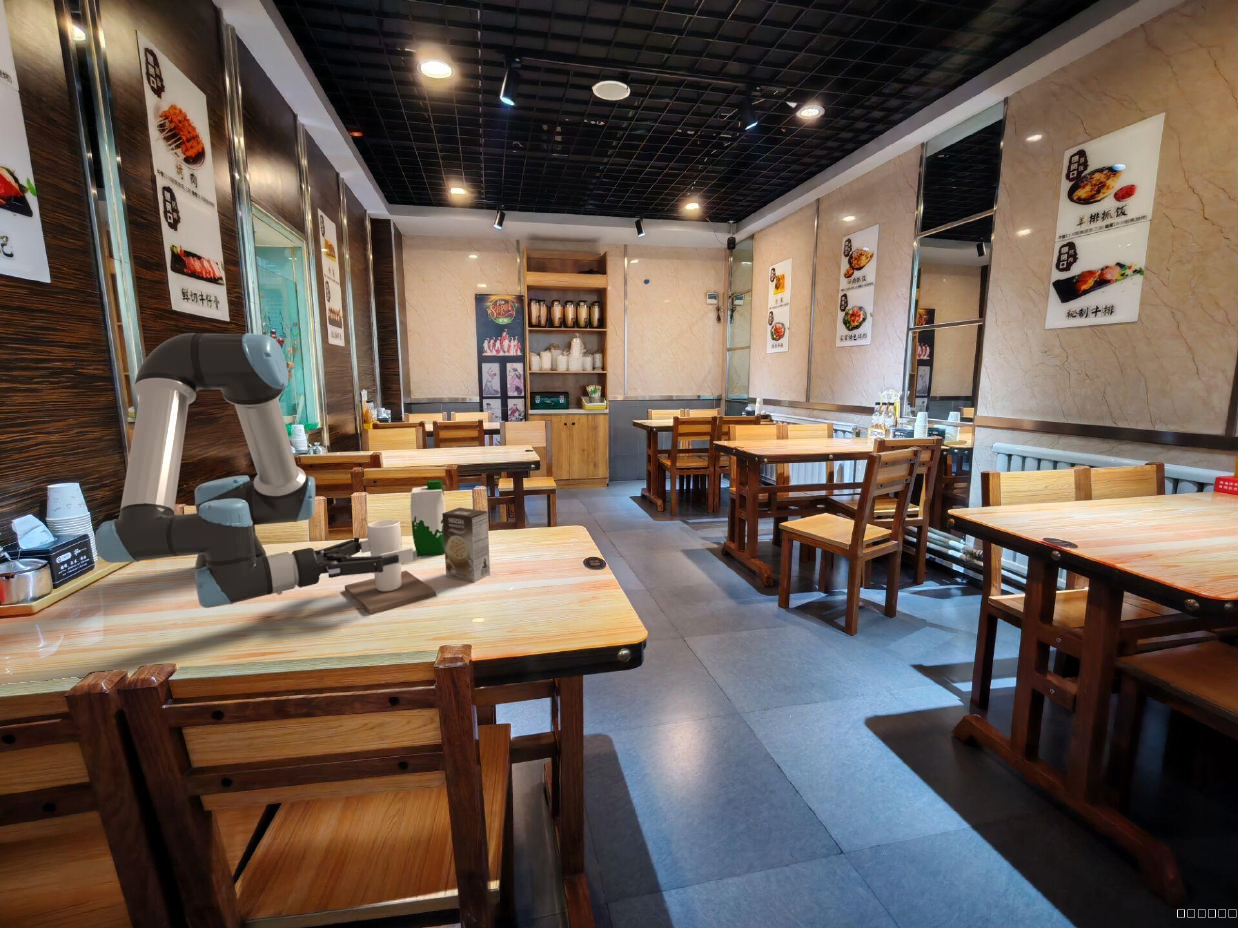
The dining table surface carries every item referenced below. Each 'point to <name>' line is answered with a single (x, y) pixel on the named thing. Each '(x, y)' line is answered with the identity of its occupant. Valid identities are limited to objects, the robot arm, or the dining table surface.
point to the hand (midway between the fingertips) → (401, 547)
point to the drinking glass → (386, 551)
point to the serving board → (389, 593)
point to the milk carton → (428, 518)
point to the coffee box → (466, 544)
